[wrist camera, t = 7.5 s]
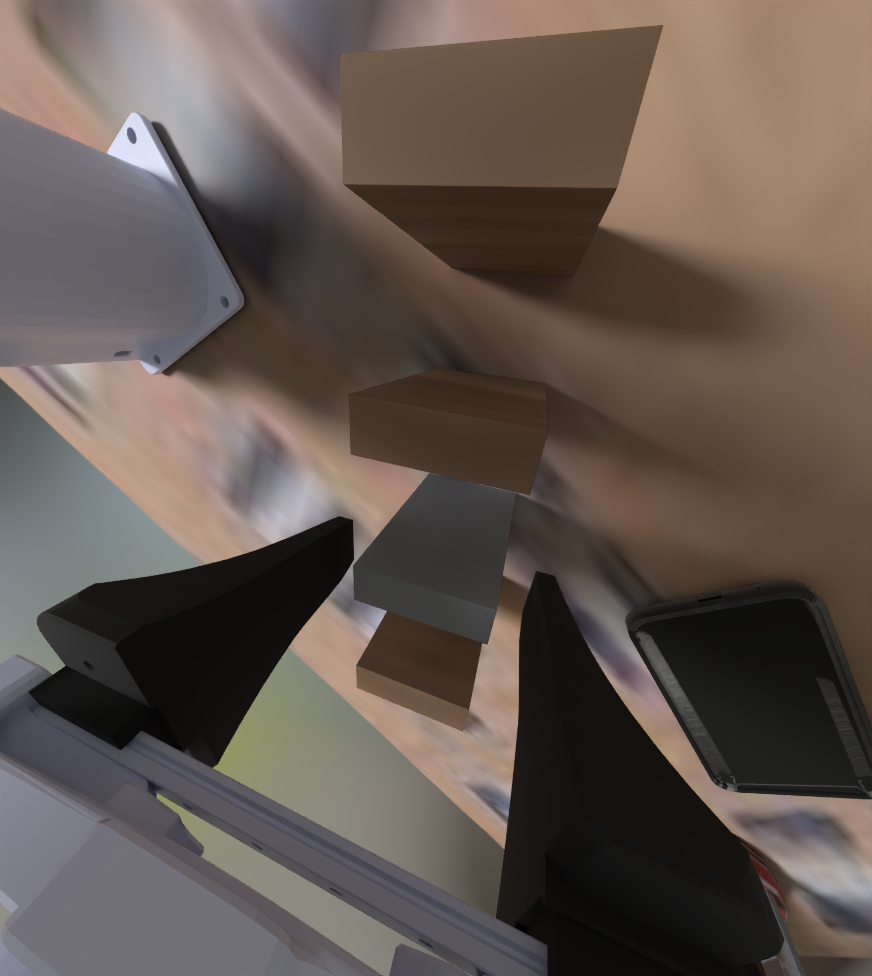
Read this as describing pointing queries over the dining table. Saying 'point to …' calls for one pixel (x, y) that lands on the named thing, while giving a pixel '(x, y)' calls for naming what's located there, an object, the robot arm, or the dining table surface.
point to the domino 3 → (441, 557)
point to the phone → (760, 689)
